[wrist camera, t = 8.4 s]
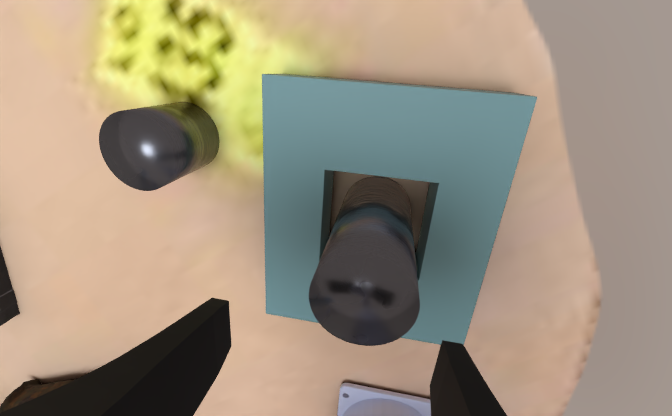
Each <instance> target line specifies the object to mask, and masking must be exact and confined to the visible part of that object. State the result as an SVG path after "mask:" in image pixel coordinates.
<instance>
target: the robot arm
mask: <svg viewBox="0 0 672 416" xmlns="http://www.w3.org/2000/svg"><path fill="white" fill-rule="evenodd" d="M230 348H231V332H230V316H229V301H226V300H221V299H215V298H211V299H210V300H208V301H206V302H205V303H203V304H202V305H200V306H199V307H197V308H196V309H194V310H193V311H191V312H190V313H188V314H187V315H185V316H184V317H182V318H181V319H180V320H178V321H176V322H175V323H173V324H172V325H170V326H169V327H167V328H166V329H164V330H163V331H161V332H160V333H158V334H156V335H155V336H153V337H152V338H150V339H148V340H147V341H145V342H143V343H142V344H140V345H138V346H137V347H135V348H133V349H132V350H130V351H128V352H127V353H125V354H123V355H122V356H120V357H118V358H116V359H115V360H113V361H111V362H109V363H107V364H105V365H103V366H102V367H100V368H98V369H96V370H94V371H92V372H90V373H88V374H86V375H84V376H82V377H80V378H78V379H76V380H74V381H72V382H70V383H68V384H65V385H63V386H61V387H59V388H57V389H54V390H52V391H50V392H48V393H46V394H43V395H41V396H39V397H37V398H34V399H32V400H30V401H28V402H25V403H23V404H20V405H18V406H16V407H13V408H11V409H8V410H6V411H3V412H1V413H0V416H193V415H194V413H195V412H196V410H197V408H198V407H199V405H200V404H201V402H202V400H203V399H204V397H205V395H206V394H207V392H208V390H209V389H210V387H211V386H212V384H213V382H214V381H215V379H216V377H217V375H218V374H219V372H220V369H221V367H222V365H223V363H224V361H225V359H226V357H227V354H228V352H229V350H230ZM337 416H507V415H506V413H505V412H504V410H503V409H502V407H501V406H500V404H499V403H498V401H497V400H496V398H495V396H494V395H493V393H492V392H491V390H490V389H489V387H488V385H487V384H486V382H485V381H484V379H483V377H482V376H481V374H480V372H479V371H478V369H477V367H476V366H475V364H474V362H473V361H472V359H471V357H470V355H469V354H468V352H467V350H466V348H465V347H464V346H463V344H461V343H455V342H450V341H444V340H442V343H441V347H440V351H439V354H438V358H437V362H436V365H435V369H434V373H433V376H432V380H431V384H430V399H426V398H421V397H416V396H411V395H406V394H401V393H396V392H391V391H386V390H381V389H376V388H371V387H366V386H361V385H356V384H351V383H342V384H341V387H340V394H339V403H338V413H337Z"/></svg>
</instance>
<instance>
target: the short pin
mask: <svg viewBox="0 0 672 416" xmlns="http://www.w3.org/2000/svg"><path fill="white" fill-rule="evenodd" d="M99 144H100V150H101V153H102V156H103V158H104V160H105V162H106V164H107V166H108V167H109V169H110V170H111V171H112V172H113V174H114V175H115V176H116V177H117V178H118V179H120V180H121V181H122V182H124V183H125V184H127V185H128V186H130V187H133V188H135V189H138V190H143V191H151V190H156V189H158V188H161V187H163V186H165V185H167V184H169V183H171V182H173V181H175V180H177V179H179V178H181V177H183V176H185V175H187V174H189V173H191V172H193V171H195V170H197V169H199V168H201V167H203V166H205V165H207V164H209V163H210V162H211V161H212V160H213V159H214V158H215V156H216V154H217V152H218V148H219V135H218V131H217V128H216V125H215V124H214V122H213V120H212V119H211V117H210V116H209V115H208V114H207V113H206V112H205V111H204V110H203V109H201V108H200V107H198V106H197V105H194V104H192V103H188V102H178V103H171V104H164V105H157V106H151V107H144V108H137V109H131V110H124V111H118V112H115V113H113V114H111V115H110V116H109V117H107V118H106V120H105V121H104V122H103V124H102V126H101V129H100V134H99Z"/></svg>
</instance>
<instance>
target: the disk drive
mask: <svg viewBox="0 0 672 416" xmlns="http://www.w3.org/2000/svg"><path fill="white" fill-rule="evenodd" d="M18 314H20V312H19V310H18V305H17V300H16V297H15V293H14V290H13V288H12V285H11V281H10V278H9V275H8V271H7V267H6V264H5V261H4V257H3V254H2V250H1V247H0V326H1V325H3V324H4V323H6V322H7V321H9V320H10V319H12V318H13V317H15V316H16V315H18Z"/></svg>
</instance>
